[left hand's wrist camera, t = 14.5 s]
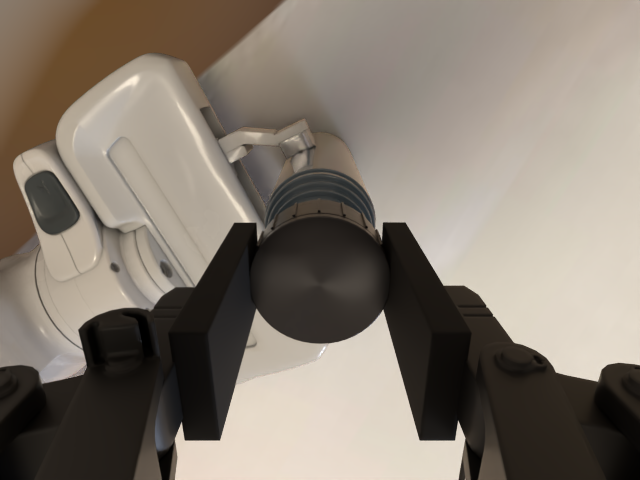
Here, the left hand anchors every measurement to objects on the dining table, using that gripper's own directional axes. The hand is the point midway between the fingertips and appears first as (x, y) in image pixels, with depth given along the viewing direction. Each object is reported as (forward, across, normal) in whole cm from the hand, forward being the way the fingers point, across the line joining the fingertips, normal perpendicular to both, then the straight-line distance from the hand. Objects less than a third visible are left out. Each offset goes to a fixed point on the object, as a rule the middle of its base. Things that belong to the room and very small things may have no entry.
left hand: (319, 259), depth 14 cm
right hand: (+10, -1, 0) cm, 11 cm away
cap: (-2, 0, 0) cm, 2 cm away
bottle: (+17, 0, 0) cm, 17 cm away
